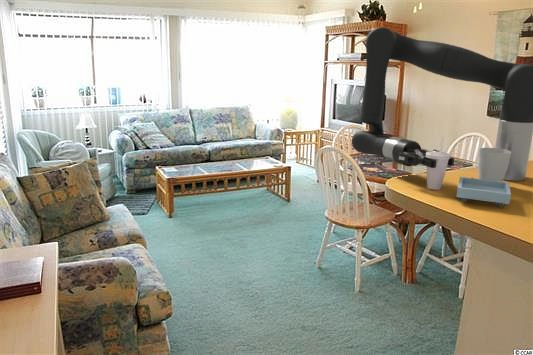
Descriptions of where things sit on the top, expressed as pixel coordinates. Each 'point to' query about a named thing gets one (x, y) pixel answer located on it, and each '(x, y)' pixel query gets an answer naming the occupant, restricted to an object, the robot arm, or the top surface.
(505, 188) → the square pastel tray
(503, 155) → the cup
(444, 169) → the smoothie
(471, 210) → the top surface
